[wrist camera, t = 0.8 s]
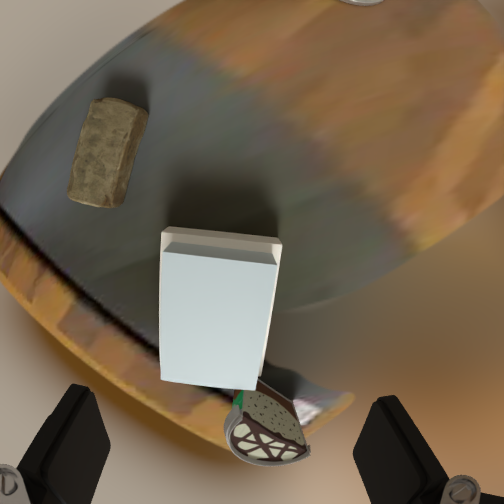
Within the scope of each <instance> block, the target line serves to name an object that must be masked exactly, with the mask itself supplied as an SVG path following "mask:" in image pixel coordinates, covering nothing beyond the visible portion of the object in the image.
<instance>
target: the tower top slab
mask: <svg viewBox="0 0 504 504" xmlns="http://www.w3.org/2000/svg"><path fill="white" fill-rule="evenodd" d="M276 271H277V263H276V261H275V258H274V256H273V254H272V253H265V252H257V251H248V250H240V249H231V248H223V247H214V246H206V245H197V244H189V243H180V242H171V243H170V244H169V245H168V246H167V247H166V248H165V250H164V251H163V252H162V272H161V303H160V360H161V380H165V381H172V382H178V383H185V384H193V385H201V386H209V387H219V388H229V389H241V390H255V389H256V384H257V379H258V374H259V368H260V363H261V357H262V352H263V347H264V341H265V336H266V330H267V324H268V319H269V313H270V307H271V301H272V295H273V290H274V284H275V278H276Z"/></svg>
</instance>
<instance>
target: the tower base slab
mask: <svg viewBox="0 0 504 504" xmlns="http://www.w3.org/2000/svg"><path fill="white" fill-rule="evenodd" d="M171 242H180V243H189V244H197V245H206V246H214V247H223V248H231V249H240V250H248V251H257V252H265V253H272V254H273V256H274V258H275V261H276V263H277V271H276V278H275V284H274V290H273V295H272V301H271V307H270V313H269V319H268V324H267V330H266V336H265V341H264V347H263V352H262V357H261V363H260V368H259V374H258V376H261V373H262V368H263V362H264V356H265V351H266V345H267V339H268V333H269V327H270V320H271V315H272V309H273V302H274V296H275V290H276V283H277V277H278V270H279V264H280V257H281V250H282V243H281V242H280V240H279V239H278V238H276V237H267V236H258V235H249V234H239V233H230V232H220V231H211V230H201V229H191V228H181V227H171V226H169V227H167V228H166V229H165V230H163V231H162V232H161V252H160V282H159V340H160V303H161V272H162V252H163V251H164V250H165V248H166V247H167V246H168V245H169V244H170V243H171ZM160 366H161V360H160Z"/></svg>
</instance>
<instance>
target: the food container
mask: <svg viewBox="0 0 504 504" xmlns="http://www.w3.org/2000/svg"><path fill="white" fill-rule="evenodd" d="M224 433H225V437H226V440H227V444H228V445H229V447H230V449H231V450H232V452H233V453H234V454H235V455H236V456H237V457H239V458H240V459H242V460H244V461H246V462H249V463H251V464H255V465H261V466H281V465H287V464H291V463H295V462H298V461H300V460H303V459H305V458H307V457H309V456H310V452H311V451H310V445H308V446H307V443H306V440H305V437H304V434H303V431H302V428H301V425H300V422H299V419H298V416H297V413H296V410H295V407H294V404H293V402H292V401H291V400H289V399H287V398H286V397H284V396H283V395H281V394H280V393H278V392H277V391H275V390H274V389H273V388H271V387H270V386H268V385H267V384H265V383H264V382H262V381H261V380H259V379H257V384H256V389H255V390H241V389H235V391H234V398H233V405H232V410H231V411H230V413H229V414H228V415H227V417H226V419H225V423H224Z"/></svg>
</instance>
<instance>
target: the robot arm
mask: <svg viewBox="0 0 504 504" xmlns="http://www.w3.org/2000/svg"><path fill="white" fill-rule="evenodd" d="M340 1H343V2H346V3H349V4H354V5H362V6H370V5H376V4H379V3H381V2H382V1H384V0H340ZM110 446H111V445H110V440H109V437H108V434H107V432H106V429H105V426H104V423H103V420H102V417H101V414H100V411H99V408H98V404H97V401H96V398H95V395H94V393H93V392H91V391H90V389H89V388H88V387H86V386H82V385H77V384H71V385H70V387H69V388H68V390H67V391H66V393H65V394H64V396H63V397H62V399H61V400H60V402H59V403H58V405H57V407H56V408H55V409H54V411H53V412H52V414H51V415H49V416H48V418H47V419H46V420H45V422H44V424H43V425H42V427H41V428H40V430H39V432H38V433H37V435H36V436H35V438H34V440H33V441H32V443H31V445H30V446H29V448H28V450H27V451H26V453H25V454H24V456H23V458H22V460H21V461H20V463H19V465H18V467H17V468H14V467H12V466H10V465H7V464H0V504H91V501H92V498H93V496H94V493H95V489H96V487H97V484H98V481H99V478H100V476H101V473H102V470H103V467H104V465H105V462H106V459H107V457H108V454H109V451H110ZM353 457H354V460H355V463H356V465H357V468H358V470H359V473H360V475H361V478H362V481H363V483H364V486H365V488H366V491H367V494H368V496H369V499H370V502H371V504H504V497H500V496H495V495H490V494H485V493H481V490H480V486H479V484H478V483H477V481H476V480H475V479H473V478H472V477H470V476H467V475H457V476H454V477H453V478H451V479H449V477H448V476H447V474H446V472H445V471H444V469H443V467H442V466H441V464H440V463H439V461H438V459H437V458H436V456H435V455H434V453H433V452H432V450H431V448H430V447H429V446H428V444H427V442H426V441H425V439H424V438H423V436H422V435H421V433H420V431H419V430H418V428H417V427H416V425H415V424H414V422H413V420H412V419H411V417H410V416H409V414H408V413H407V411H406V410H405V409H404V407H403V405H402V404H401V403H400V401H399V399H398V398H397V397H396V396H395V395H390V396H383V397H379V398H378V399H377V401H376V402H374V403H373V404H372V406H371V409H370V412H369V414H368V417H367V419H366V421H365V424H364V426H363V429H362V431H361V433H360V436H359V438H358V440H357V442H356V445H355V447H354V449H353Z"/></svg>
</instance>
